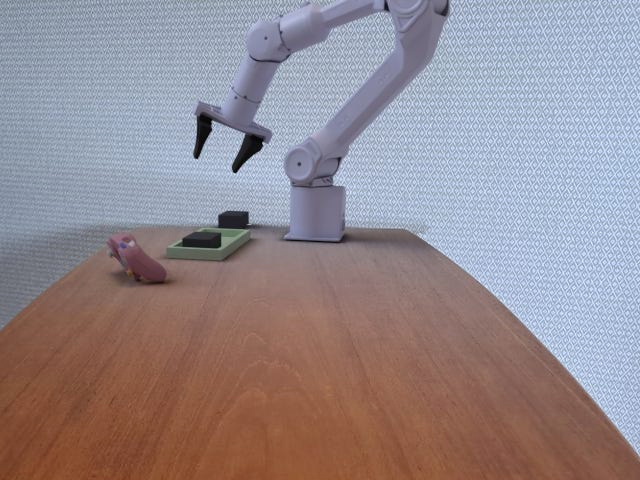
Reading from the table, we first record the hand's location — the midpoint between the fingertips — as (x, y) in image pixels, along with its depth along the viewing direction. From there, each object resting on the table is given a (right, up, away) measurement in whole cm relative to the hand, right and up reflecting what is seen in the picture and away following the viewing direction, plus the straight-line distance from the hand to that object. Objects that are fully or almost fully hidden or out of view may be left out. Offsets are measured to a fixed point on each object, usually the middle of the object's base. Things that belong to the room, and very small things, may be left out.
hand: (214, 163), depth 123 cm
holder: (0, -18, -14) cm, 23 cm away
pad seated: (-1, -19, -19) cm, 27 cm away
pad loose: (+3, -10, +5) cm, 12 cm away
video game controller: (-9, -25, -33) cm, 42 cm away
